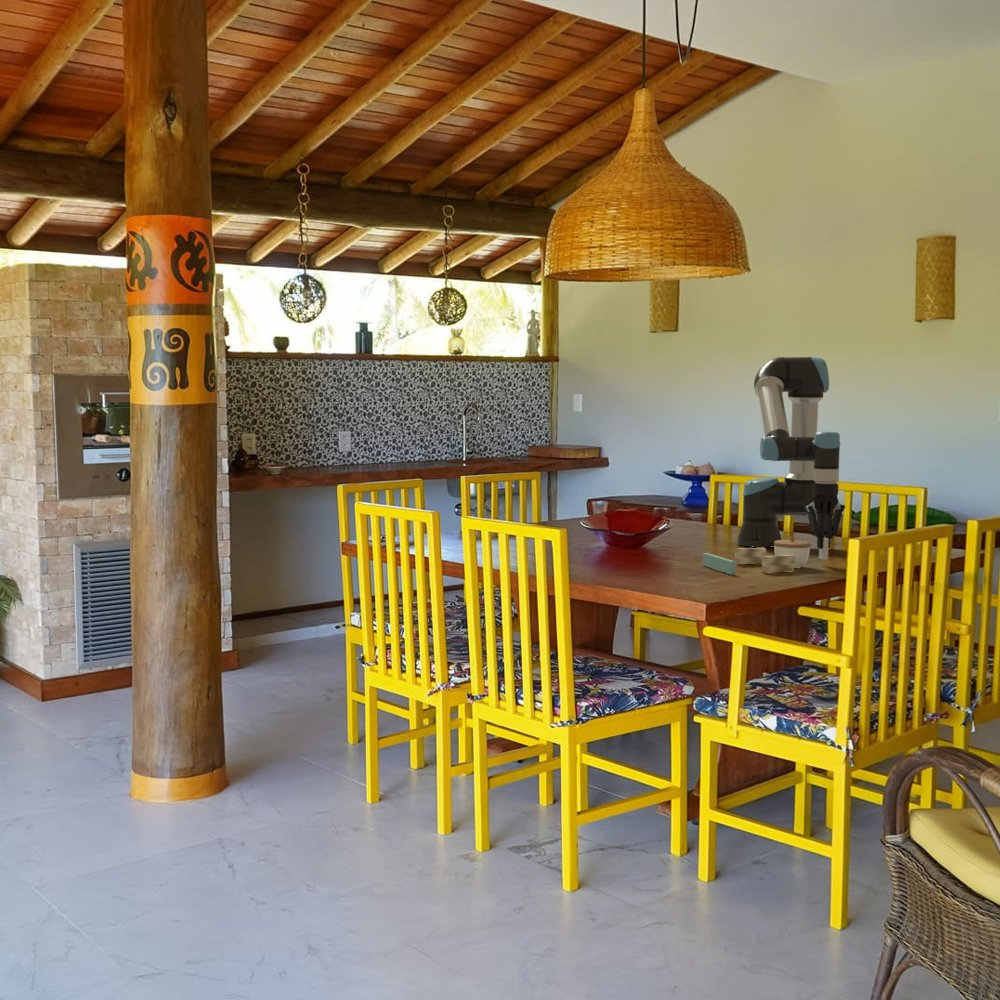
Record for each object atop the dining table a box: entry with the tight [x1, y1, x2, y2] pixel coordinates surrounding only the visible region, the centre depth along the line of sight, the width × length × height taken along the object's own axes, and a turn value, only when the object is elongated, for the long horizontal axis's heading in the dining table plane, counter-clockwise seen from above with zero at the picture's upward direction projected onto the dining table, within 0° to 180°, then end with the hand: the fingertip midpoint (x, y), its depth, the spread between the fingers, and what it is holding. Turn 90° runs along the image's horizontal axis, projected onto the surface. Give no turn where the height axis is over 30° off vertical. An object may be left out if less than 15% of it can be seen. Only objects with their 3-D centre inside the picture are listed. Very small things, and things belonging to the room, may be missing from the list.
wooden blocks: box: [734, 547, 795, 574], centre depth 352 cm, size 10×18×5 cm, turn 17°
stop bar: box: [701, 552, 736, 576], centre depth 348 cm, size 2×18×4 cm, turn 17°
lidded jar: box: [774, 536, 811, 568], centre depth 355 cm, size 11×11×9 cm
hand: (823, 558), depth 358 cm, fingers closed
